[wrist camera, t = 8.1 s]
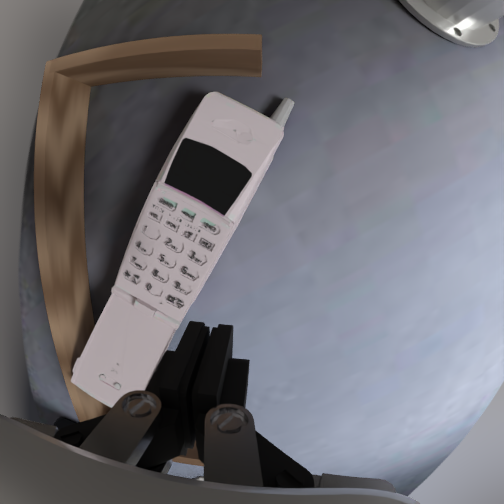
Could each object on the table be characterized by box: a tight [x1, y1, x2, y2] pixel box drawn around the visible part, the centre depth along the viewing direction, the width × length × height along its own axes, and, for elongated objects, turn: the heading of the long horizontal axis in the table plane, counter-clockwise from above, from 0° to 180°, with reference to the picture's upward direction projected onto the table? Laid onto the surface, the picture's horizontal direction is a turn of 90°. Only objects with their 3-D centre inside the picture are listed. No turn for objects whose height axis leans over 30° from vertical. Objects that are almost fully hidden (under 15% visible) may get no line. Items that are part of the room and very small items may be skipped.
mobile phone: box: [71, 92, 295, 408], centre depth 19 cm, size 6×6×25 cm
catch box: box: [34, 34, 262, 466], centre depth 20 cm, size 31×14×5 cm, turn 176°
